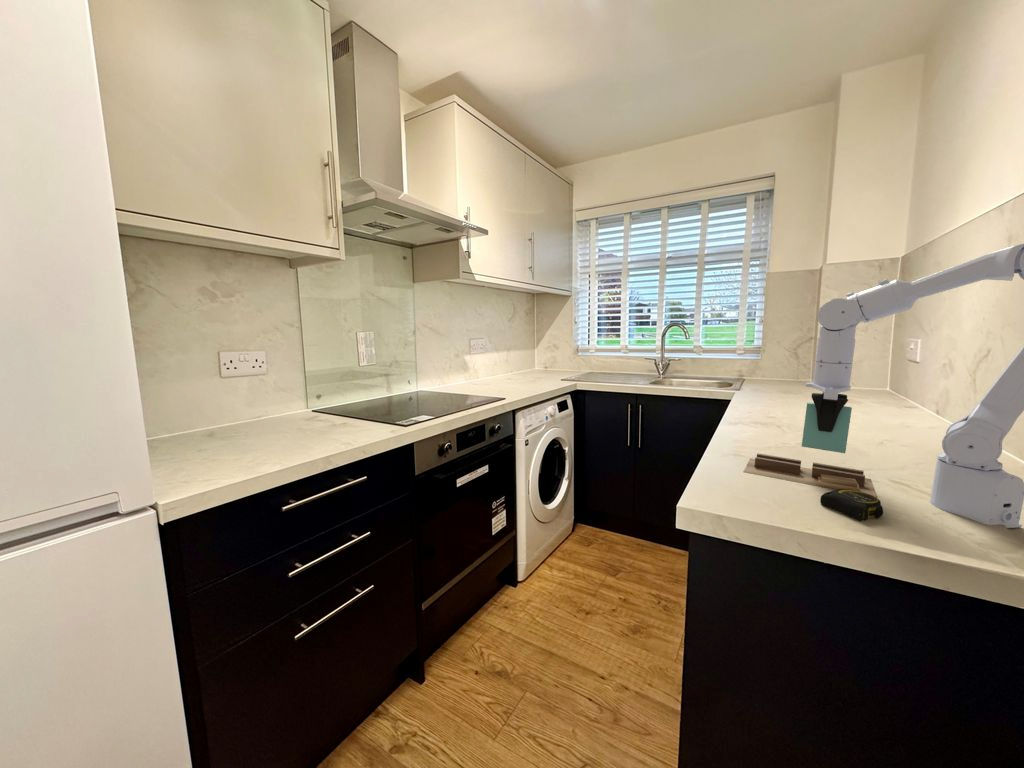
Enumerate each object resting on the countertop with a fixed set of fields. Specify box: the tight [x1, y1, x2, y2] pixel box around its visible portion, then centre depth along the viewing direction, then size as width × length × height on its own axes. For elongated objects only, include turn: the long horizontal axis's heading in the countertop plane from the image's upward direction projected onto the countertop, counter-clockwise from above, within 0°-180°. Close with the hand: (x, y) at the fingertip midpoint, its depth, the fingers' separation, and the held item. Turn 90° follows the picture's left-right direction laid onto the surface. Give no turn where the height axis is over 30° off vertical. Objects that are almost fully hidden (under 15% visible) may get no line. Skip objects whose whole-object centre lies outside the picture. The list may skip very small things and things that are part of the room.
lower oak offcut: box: [818, 477, 859, 491], centre depth 77 cm, size 3×6×1 cm, turn 54°
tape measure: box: [820, 489, 884, 522], centre depth 67 cm, size 7×7×4 cm
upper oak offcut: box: [820, 474, 858, 488], centre depth 77 cm, size 3×5×1 cm, turn 59°
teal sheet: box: [801, 401, 853, 454], centre depth 82 cm, size 2×7×9 cm, turn 54°
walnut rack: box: [743, 452, 878, 498], centre depth 83 cm, size 11×21×3 cm, turn 54°
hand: (824, 430), depth 82 cm, fingers closed on teal sheet, 1 cm apart
